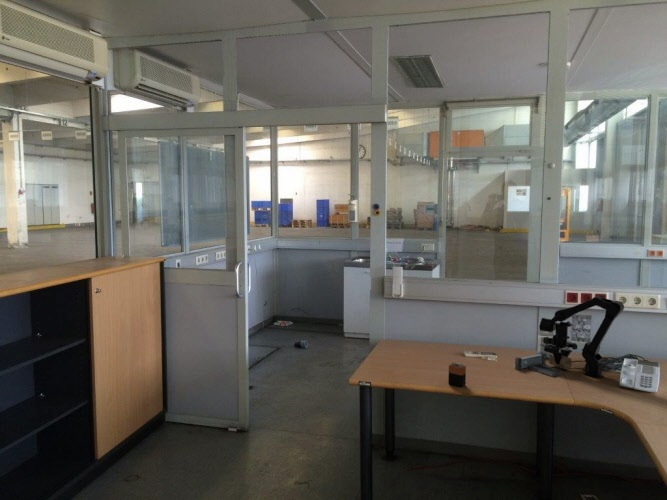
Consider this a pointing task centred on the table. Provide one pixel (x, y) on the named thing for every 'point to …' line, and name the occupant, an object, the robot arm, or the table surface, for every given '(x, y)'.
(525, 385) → the table surface
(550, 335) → the ink box
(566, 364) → the bar
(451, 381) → the battery
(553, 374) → the keeper cradle
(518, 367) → the door frame
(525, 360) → the door
